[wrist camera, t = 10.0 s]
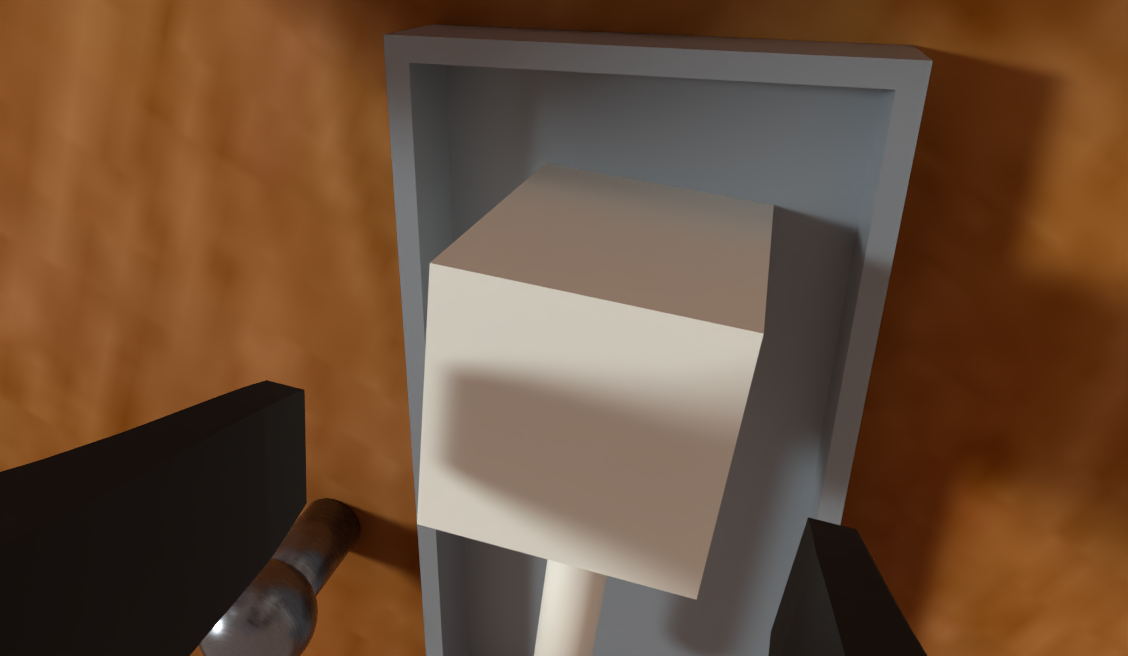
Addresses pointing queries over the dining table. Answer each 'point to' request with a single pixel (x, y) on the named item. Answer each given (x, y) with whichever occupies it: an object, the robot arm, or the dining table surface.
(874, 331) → the bin
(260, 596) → the ball stud
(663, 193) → the white mallet
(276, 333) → the dining table surface
